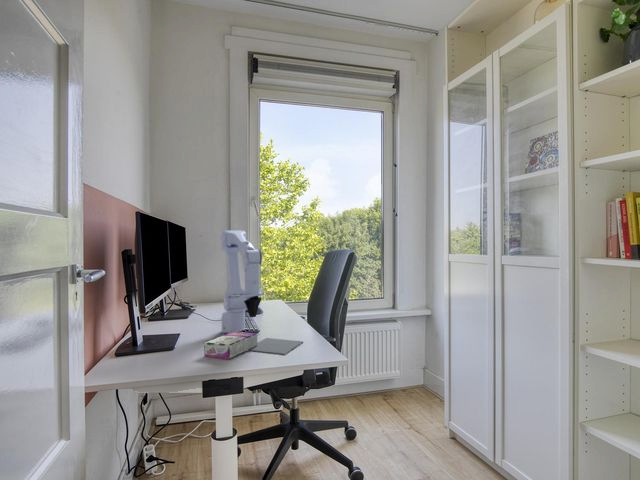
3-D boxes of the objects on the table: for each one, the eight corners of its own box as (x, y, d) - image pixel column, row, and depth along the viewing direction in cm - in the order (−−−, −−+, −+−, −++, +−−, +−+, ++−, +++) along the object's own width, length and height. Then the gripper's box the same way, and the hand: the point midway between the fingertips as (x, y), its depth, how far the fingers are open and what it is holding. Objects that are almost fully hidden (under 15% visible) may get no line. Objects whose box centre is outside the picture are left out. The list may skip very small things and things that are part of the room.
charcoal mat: (245, 350, 135) (245, 349, 135) (266, 338, 150) (266, 337, 150) (285, 354, 130) (285, 353, 130) (303, 342, 145) (303, 341, 145)
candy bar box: (234, 344, 144) (203, 356, 129) (233, 331, 144) (202, 341, 129) (258, 346, 139) (229, 359, 124) (257, 332, 139) (228, 344, 124)
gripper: (251, 283, 135) (251, 321, 135) (270, 279, 148) (271, 313, 148) (234, 283, 137) (235, 320, 137) (255, 278, 151) (255, 312, 151)
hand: (252, 316), depth 143 cm, fingers closed
